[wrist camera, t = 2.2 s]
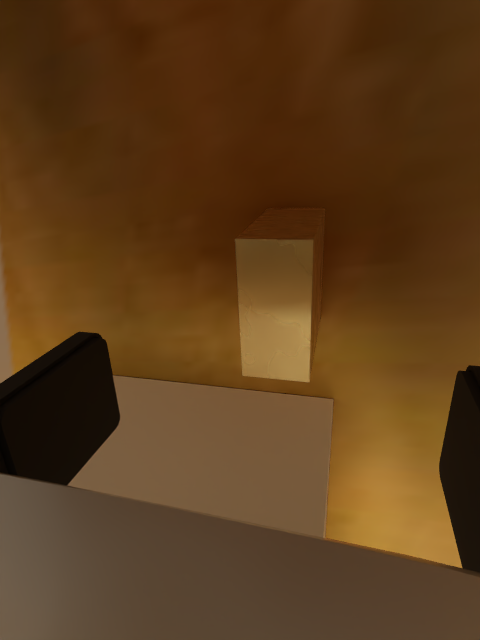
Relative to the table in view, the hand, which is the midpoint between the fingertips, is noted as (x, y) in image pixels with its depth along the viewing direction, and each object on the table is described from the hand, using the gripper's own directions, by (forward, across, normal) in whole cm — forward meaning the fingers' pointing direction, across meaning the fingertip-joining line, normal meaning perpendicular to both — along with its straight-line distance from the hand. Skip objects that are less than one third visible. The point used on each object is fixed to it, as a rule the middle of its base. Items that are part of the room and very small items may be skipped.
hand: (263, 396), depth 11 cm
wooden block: (+9, 0, -1) cm, 9 cm away
